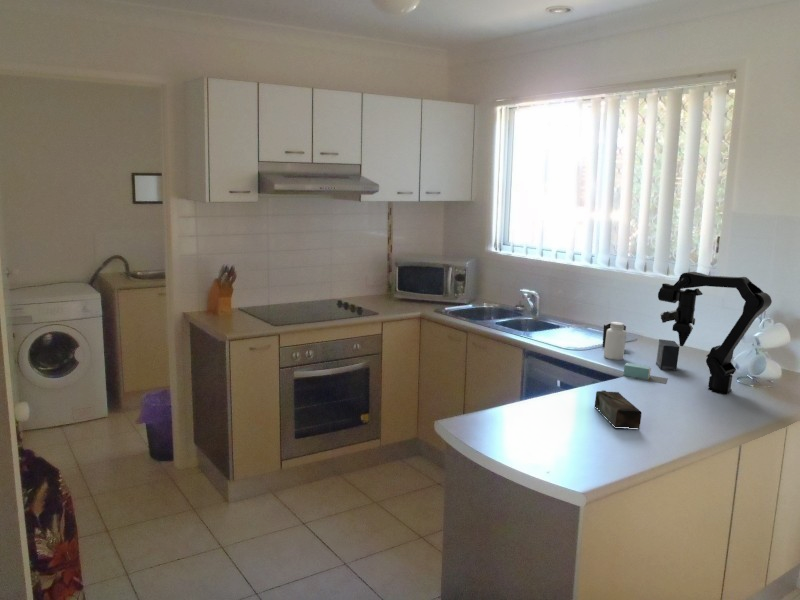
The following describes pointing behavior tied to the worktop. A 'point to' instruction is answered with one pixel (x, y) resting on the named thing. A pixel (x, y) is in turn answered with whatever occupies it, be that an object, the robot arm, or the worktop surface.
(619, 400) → the dark wooden bar
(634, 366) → the block
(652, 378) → the mat
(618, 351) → the pill bottle
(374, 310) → the worktop surface
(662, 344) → the small box
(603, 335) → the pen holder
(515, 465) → the worktop surface
